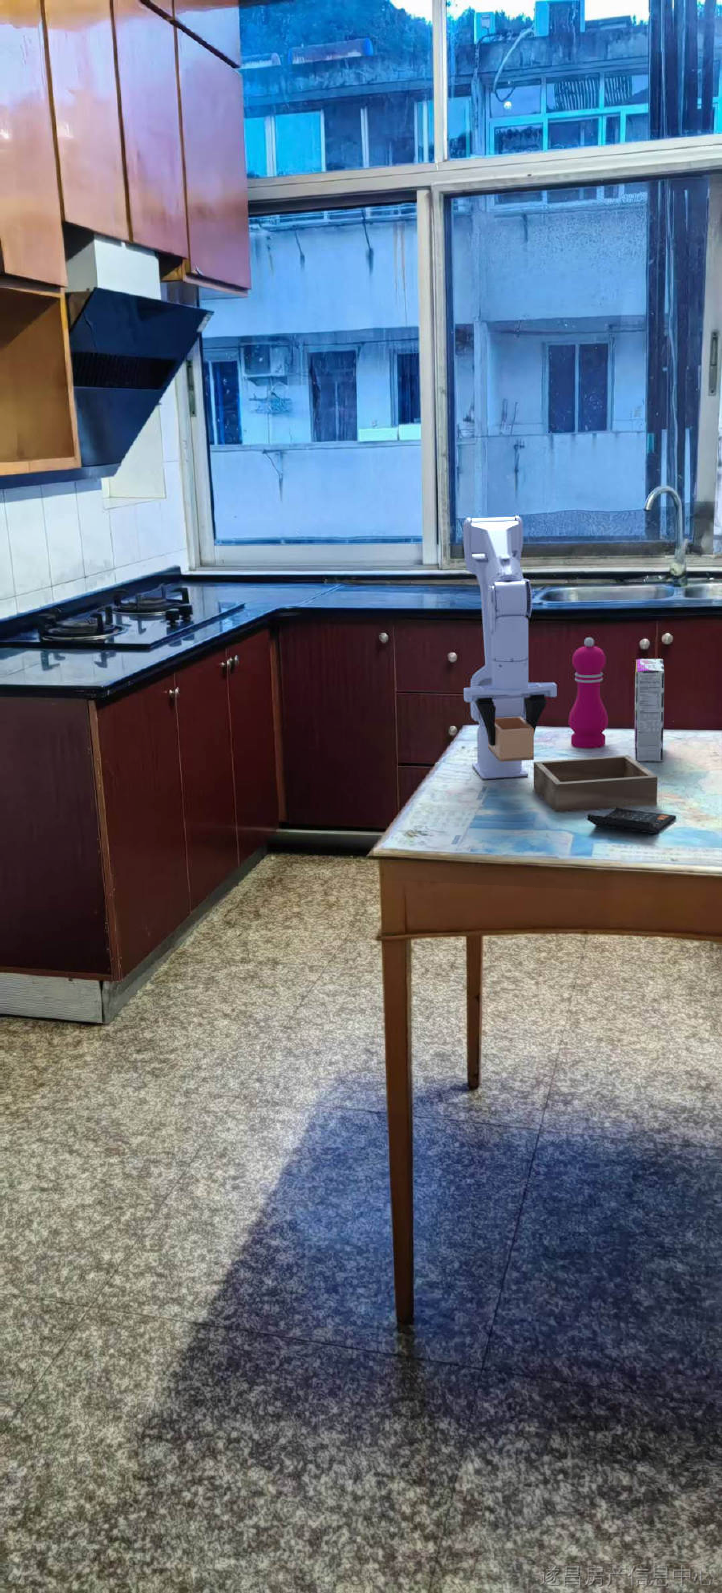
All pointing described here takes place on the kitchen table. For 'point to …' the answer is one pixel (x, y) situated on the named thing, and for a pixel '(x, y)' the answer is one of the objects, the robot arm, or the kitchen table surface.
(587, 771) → the walnut crate
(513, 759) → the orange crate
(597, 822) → the calculator
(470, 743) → the kitchen table surface
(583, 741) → the pepper mill
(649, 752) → the candy bar box
